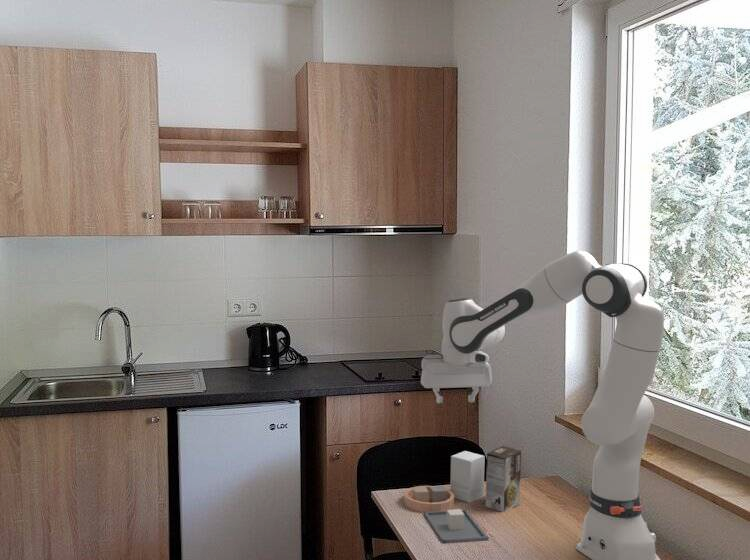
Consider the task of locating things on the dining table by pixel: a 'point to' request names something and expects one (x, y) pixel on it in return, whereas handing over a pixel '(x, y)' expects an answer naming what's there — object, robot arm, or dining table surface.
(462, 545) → the dining table surface
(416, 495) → the cube
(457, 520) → the beige cube
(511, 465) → the coffee box
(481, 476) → the supplement box
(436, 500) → the grey cube
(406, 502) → the bowl
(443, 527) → the tray
